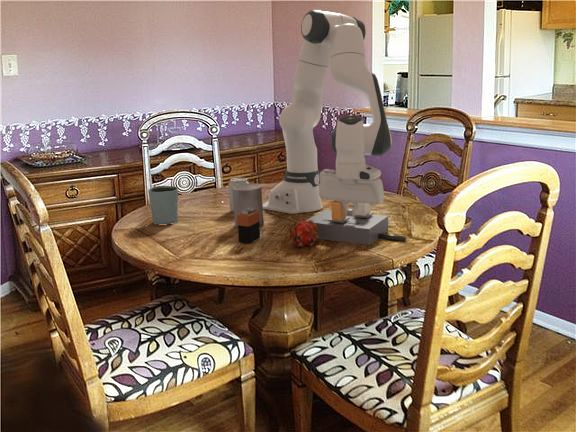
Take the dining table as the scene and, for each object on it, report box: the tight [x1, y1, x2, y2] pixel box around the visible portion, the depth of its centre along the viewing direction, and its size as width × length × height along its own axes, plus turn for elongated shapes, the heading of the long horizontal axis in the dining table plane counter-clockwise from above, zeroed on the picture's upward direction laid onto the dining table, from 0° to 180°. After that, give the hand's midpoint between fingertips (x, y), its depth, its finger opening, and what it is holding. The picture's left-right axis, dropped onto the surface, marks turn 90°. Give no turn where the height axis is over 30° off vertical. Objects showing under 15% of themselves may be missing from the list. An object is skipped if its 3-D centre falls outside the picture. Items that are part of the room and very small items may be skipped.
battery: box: [237, 208, 261, 245], centre depth 199 cm, size 4×7×10 cm, turn 153°
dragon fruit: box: [289, 218, 320, 249], centre depth 193 cm, size 8×8×12 cm
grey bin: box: [147, 185, 179, 225], centre depth 223 cm, size 10×10×12 cm
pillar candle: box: [233, 181, 265, 229], centre depth 214 cm, size 10×10×15 cm
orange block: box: [328, 200, 350, 223], centre depth 198 cm, size 5×5×6 cm
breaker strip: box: [305, 209, 407, 246], centre depth 201 cm, size 31×16×5 cm, turn 61°
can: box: [228, 177, 250, 213], centre depth 235 cm, size 8×8×12 cm
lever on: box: [353, 203, 374, 218], centre depth 203 cm, size 5×5×6 cm
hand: (350, 215), depth 197 cm, fingers closed
